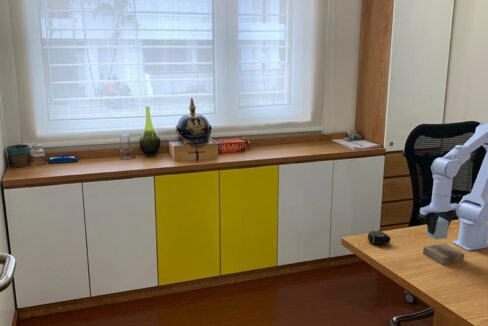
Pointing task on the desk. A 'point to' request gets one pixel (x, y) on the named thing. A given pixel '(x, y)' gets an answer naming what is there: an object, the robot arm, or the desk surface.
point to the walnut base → (443, 254)
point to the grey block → (439, 229)
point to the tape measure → (378, 237)
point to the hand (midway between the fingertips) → (437, 232)
